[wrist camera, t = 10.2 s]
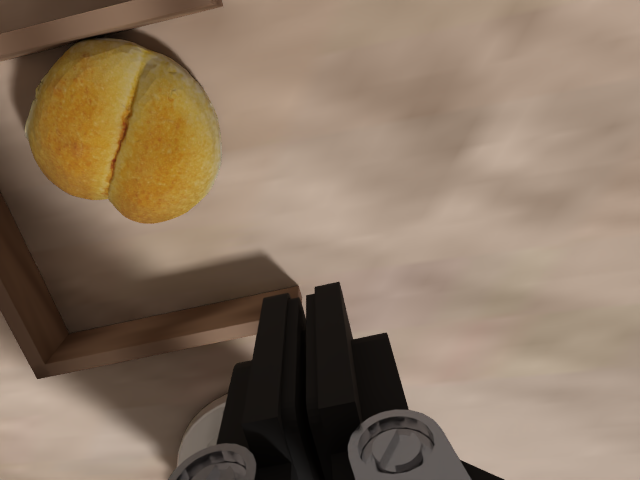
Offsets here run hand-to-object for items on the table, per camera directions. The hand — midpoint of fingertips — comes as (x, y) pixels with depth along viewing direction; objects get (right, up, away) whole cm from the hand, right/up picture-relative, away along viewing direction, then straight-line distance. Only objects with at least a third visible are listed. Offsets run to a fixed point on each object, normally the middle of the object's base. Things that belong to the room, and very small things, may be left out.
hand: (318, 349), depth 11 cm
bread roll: (-9, +8, +15) cm, 20 cm away
